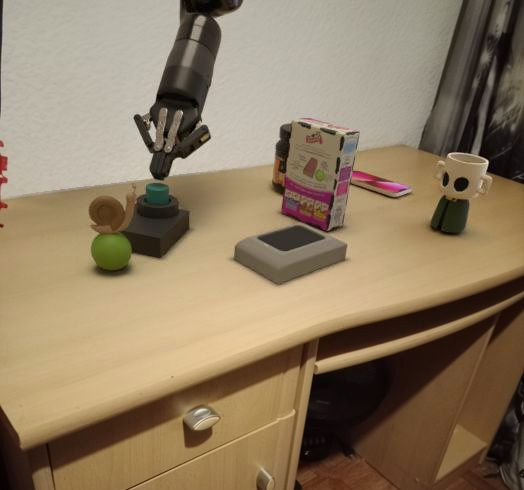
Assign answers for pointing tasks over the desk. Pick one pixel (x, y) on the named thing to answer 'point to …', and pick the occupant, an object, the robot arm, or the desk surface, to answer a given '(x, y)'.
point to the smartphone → (379, 184)
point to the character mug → (459, 189)
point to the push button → (157, 193)
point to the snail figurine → (111, 230)
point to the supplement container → (281, 158)
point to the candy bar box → (319, 172)
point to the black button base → (156, 226)
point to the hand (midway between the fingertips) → (157, 177)
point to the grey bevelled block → (289, 252)
